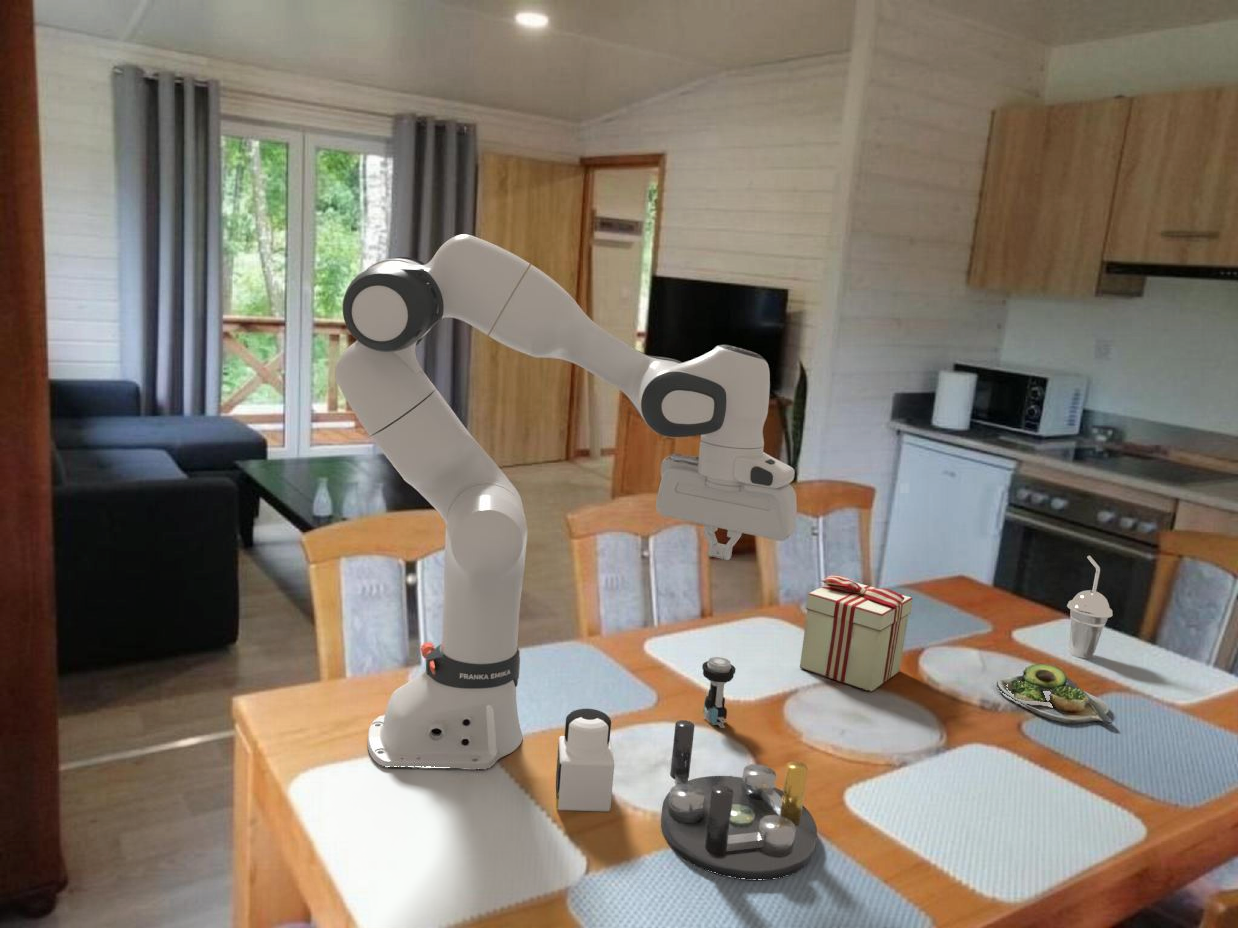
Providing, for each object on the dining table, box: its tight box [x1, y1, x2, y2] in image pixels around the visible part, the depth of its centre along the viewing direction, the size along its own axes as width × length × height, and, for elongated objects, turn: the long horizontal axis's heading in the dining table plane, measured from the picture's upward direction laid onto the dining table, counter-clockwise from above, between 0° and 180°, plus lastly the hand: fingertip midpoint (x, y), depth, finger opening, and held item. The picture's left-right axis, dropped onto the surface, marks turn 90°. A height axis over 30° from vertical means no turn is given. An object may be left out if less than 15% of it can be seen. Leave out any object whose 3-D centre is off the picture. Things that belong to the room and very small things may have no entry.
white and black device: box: [555, 708, 615, 813], centre depth 125 cm, size 7×7×12 cm
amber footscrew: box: [741, 760, 808, 826], centre depth 123 cm, size 12×4×8 cm, turn 22°
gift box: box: [799, 574, 913, 692], centre depth 175 cm, size 17×18×17 cm
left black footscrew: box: [668, 719, 704, 823], centre depth 123 cm, size 12×4×8 cm, turn 2°
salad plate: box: [996, 663, 1113, 724], centre depth 168 cm, size 19×18×5 cm
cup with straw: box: [1066, 555, 1114, 660], centre depth 192 cm, size 8×9×20 cm
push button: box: [701, 656, 736, 729], centre depth 150 cm, size 7×5×10 cm
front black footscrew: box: [705, 785, 796, 857], centre depth 113 cm, size 12×4×8 cm, turn 107°
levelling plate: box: [660, 775, 818, 881], centre depth 121 cm, size 20×20×3 cm
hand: (719, 557), depth 133 cm, fingers closed
